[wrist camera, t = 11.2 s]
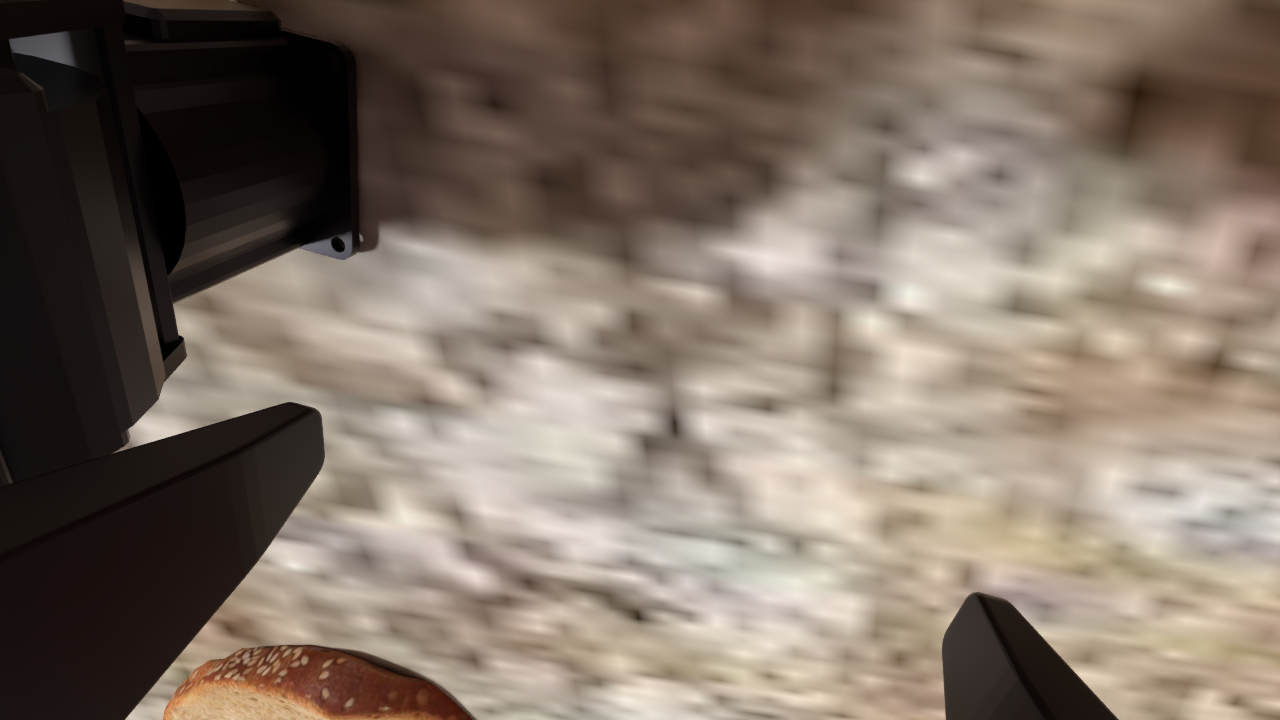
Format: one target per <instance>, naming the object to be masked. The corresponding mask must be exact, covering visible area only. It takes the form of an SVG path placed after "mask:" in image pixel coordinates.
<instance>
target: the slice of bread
mask: <svg viewBox="0 0 1280 720" xmlns="http://www.w3.org/2000/svg"><path fill="white" fill-rule="evenodd" d="M163 720H472V719H471V718H470V716H469V715H468V714H467V713H465V712H464V711H463V710H462V709H461V708H460V707H459V706H458V705H457V704H456V703H455V702H453V701H452V700H451V699H450V698H449V697H448V696H447V695H446V694H445V693H443V692H442V691H441V690H440V689H438V688H437V687H436V686H435V685H433V684H431V683H430V682H428V681H426V680H423V679H421V678H413V677H407V676H404V675H400V674H397V673H394V672H391V671H388V670H386V669H383V668H380V667H378V666H376V665H374V664H372V663H370V662H368V661H366V660H363V659H361V658H358V657H355V656H352V655H349V654H346V653H342V652H339V651H335V650H331V649H326V648H320V647H314V646H300V647H296V646H289V645H281V646H271V647H257V648H242V649H240V650H239V651H237V652H235V653H233V654H231V655H230V656H228V657H227V658H225V659H216V660H210V661H208V662H206V663H205V664H203V665H202V666H200V667H198V668H196V669H195V670H194V671H193V672H192V673H191V674H190V675H189V676H188V677H187V679H185V680H184V681H183V682H182V683H181V684H180V686H179V687H178V688H177V690H176V692H175V694H174V695H173V697H172V698H171V700H170V702H169V703H168V705H167V707H166V709H165V711H164V718H163Z"/></svg>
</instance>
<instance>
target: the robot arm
mask: <svg viewBox="0 0 1280 720" xmlns="http://www.w3.org/2000/svg"><path fill="white" fill-rule="evenodd" d="M333 54H335V55H336V56H337V58H338V60H339V64H340V65H339V69H336V68H335V67H334V65H333V63H332V55H333ZM338 238H340V239H342V241H343V242H344V244H345V248H344V247H342V246H341V245H340V243H339V240H338ZM297 248H300V249H304V250H307V251H311V252H315V253H318V254H322V255H325V256H329V257H332V258H336V259H342V260H344V259H347V258H349V257H351V256H353V255H355V254H356V253H357V252H358V250H359V197H358V147H357V98H356V63H355V58H354V56H353V54H352V52H351V50H350V49H349V48H348V47H347V46H346V45H344V44H342V43H340V42H336V41H332V40H328V39H324V38H320V37H316V36H312V35H308V34H304V33H300V32H296V31H292V30H288V29H283V28H281V21H280V19H279V18H278V17H277V16H276V15H275V14H274V13H273V12H272V11H270V10H266V9H262V8H258V7H254V6H250V5H246V4H242V3H238V2H234V1H229V0H0V720H125V719H126V718H127V717H128V715H129V714H130V713H131V712H132V711H133V709H134V708H135V707H136V706H137V705H138V704H139V702H140V701H141V700H142V699H143V698H144V696H145V695H146V694H147V693H148V692H149V691H150V689H151V688H152V687H153V686H154V685H155V683H156V682H157V681H158V680H159V679H160V677H161V676H162V675H163V674H164V673H165V672H166V670H167V669H168V668H169V667H170V666H171V664H172V663H173V662H174V661H175V660H176V659H177V657H178V656H179V655H180V654H181V653H182V651H183V650H184V649H185V648H186V647H187V645H188V644H189V643H190V642H191V641H192V640H193V638H194V637H195V636H196V635H197V634H198V632H199V631H200V630H201V629H202V628H203V627H204V625H205V624H206V623H207V622H208V621H209V619H210V618H211V617H212V616H213V615H214V613H215V612H216V611H217V610H218V609H219V608H220V606H221V605H222V604H223V603H224V602H225V600H226V599H227V598H228V597H229V596H230V594H231V593H232V592H233V591H234V590H235V589H236V587H237V586H238V585H239V584H240V583H241V581H242V580H243V579H244V578H245V577H246V575H247V574H248V573H249V572H250V570H251V569H252V568H253V567H254V566H255V564H256V563H257V562H258V561H259V559H260V558H261V556H262V555H263V554H264V552H265V551H266V550H267V548H268V547H269V545H270V544H271V542H272V541H273V540H274V538H275V537H276V535H277V534H278V532H279V531H280V529H281V528H282V526H283V525H284V523H285V522H286V521H287V519H288V518H289V516H290V515H291V513H292V512H293V510H294V509H295V507H296V506H297V504H298V503H299V502H300V500H301V499H302V497H303V496H304V494H305V493H306V491H307V490H308V488H309V487H310V485H311V484H312V483H313V481H314V480H315V478H316V477H317V475H318V474H319V472H320V470H321V468H322V466H323V463H324V458H325V449H324V437H323V425H322V417H321V414H320V412H319V411H318V410H317V409H315V408H313V407H309V406H305V405H302V404H298V403H293V402H287V403H283V404H280V405H276V406H273V407H270V408H266V409H263V410H259V411H256V412H253V413H249V414H246V415H242V416H239V417H236V418H232V419H229V420H225V421H222V422H219V423H215V424H212V425H208V426H205V427H202V428H198V429H195V430H191V431H188V432H185V433H181V434H178V435H174V436H171V437H168V438H164V439H161V440H157V441H154V442H151V443H147V444H144V445H140V446H137V447H134V448H130V449H127V450H123V451H120V452H117V451H119V450H120V449H121V448H123V447H124V446H125V445H126V444H127V443H128V442H129V439H130V435H129V431H128V429H129V428H130V427H132V426H133V425H134V424H135V423H136V422H137V421H138V420H139V419H140V418H141V417H142V416H143V415H144V414H145V413H146V412H147V411H148V410H149V409H150V408H151V407H152V406H153V405H154V403H155V402H156V401H157V400H158V399H159V396H160V393H161V390H162V387H163V383H164V382H165V381H166V380H167V379H168V377H169V376H170V375H171V374H172V373H173V372H174V371H175V370H176V369H177V367H178V366H179V365H180V364H181V363H182V362H183V361H184V360H185V359H186V357H187V354H186V348H185V343H184V338H183V337H182V336H180V335H178V330H177V324H176V319H175V313H174V308H173V304H174V303H177V302H179V301H181V300H183V299H185V298H188V297H190V296H192V295H194V294H197V293H199V292H201V291H203V290H206V289H208V288H210V287H212V286H215V285H217V284H219V283H221V282H223V281H226V280H228V279H230V278H232V277H235V276H237V275H239V274H241V273H244V272H246V271H248V270H250V269H253V268H255V267H257V266H259V265H261V264H264V263H266V262H268V261H270V260H273V259H275V258H277V257H279V256H282V255H284V254H286V253H288V252H291V251H293V250H295V249H297ZM116 452H117V453H116ZM942 660H943V678H944V696H945V714H946V720H1118V718H1117V717H1116V716H1115V715H1114V714H1113V713H1112V712H1111V711H1110V710H1109V709H1108V708H1107V707H1106V705H1105V704H1104V703H1103V702H1102V701H1101V700H1100V699H1099V698H1098V697H1097V696H1096V695H1095V694H1094V692H1093V691H1092V690H1091V689H1090V688H1089V687H1088V686H1087V685H1086V684H1085V683H1084V682H1083V681H1082V679H1081V678H1080V677H1079V676H1078V675H1077V674H1076V673H1075V672H1074V671H1073V670H1072V669H1071V668H1070V667H1069V665H1068V664H1067V663H1066V662H1065V661H1064V660H1063V659H1062V658H1061V657H1060V656H1059V655H1058V654H1057V652H1056V651H1055V650H1054V649H1053V648H1052V647H1051V646H1050V645H1049V644H1048V643H1047V642H1046V641H1045V639H1044V638H1043V637H1042V636H1041V635H1040V634H1039V633H1038V632H1037V631H1036V630H1035V629H1034V628H1033V626H1032V625H1031V624H1030V623H1029V622H1028V621H1027V620H1026V619H1025V618H1024V617H1023V616H1022V615H1021V613H1020V612H1019V611H1018V610H1017V609H1016V608H1015V607H1014V606H1013V605H1012V604H1011V603H1010V602H1008V601H1007V600H1005V599H1002V598H999V597H995V596H992V595H988V594H984V593H981V592H974V593H972V594H970V595H969V596H968V597H967V598H966V600H965V601H964V603H963V605H962V606H961V608H960V609H959V611H958V613H957V614H956V616H955V617H954V619H953V621H952V622H951V624H950V626H949V627H948V629H947V631H946V633H945V635H944V638H943V643H942Z"/></svg>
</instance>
